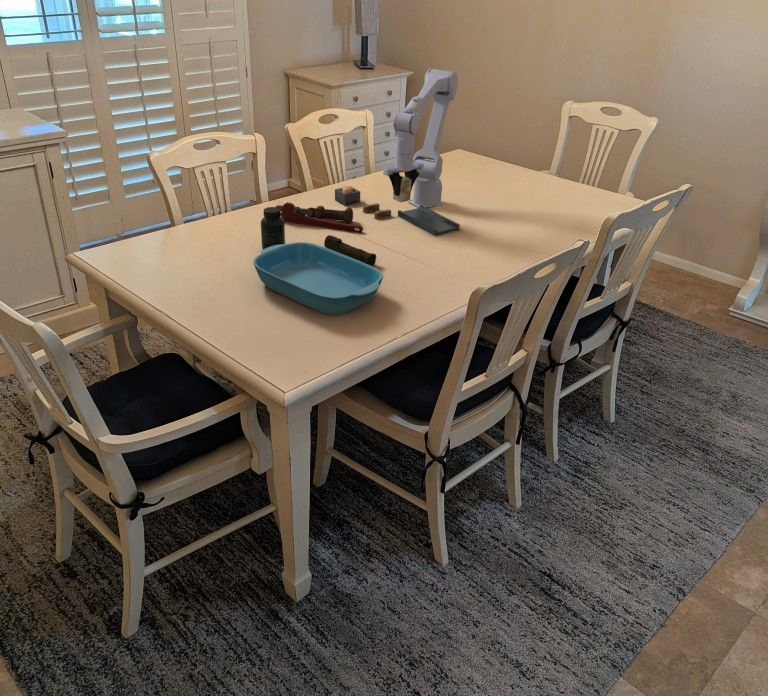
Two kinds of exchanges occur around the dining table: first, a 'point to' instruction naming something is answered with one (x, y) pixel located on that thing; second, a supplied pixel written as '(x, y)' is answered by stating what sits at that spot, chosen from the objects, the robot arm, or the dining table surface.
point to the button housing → (347, 197)
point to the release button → (347, 189)
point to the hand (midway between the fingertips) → (402, 193)
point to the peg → (404, 190)
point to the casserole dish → (318, 276)
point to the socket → (374, 208)
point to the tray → (429, 221)
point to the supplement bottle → (272, 228)
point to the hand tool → (349, 250)
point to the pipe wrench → (312, 219)
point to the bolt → (333, 214)
